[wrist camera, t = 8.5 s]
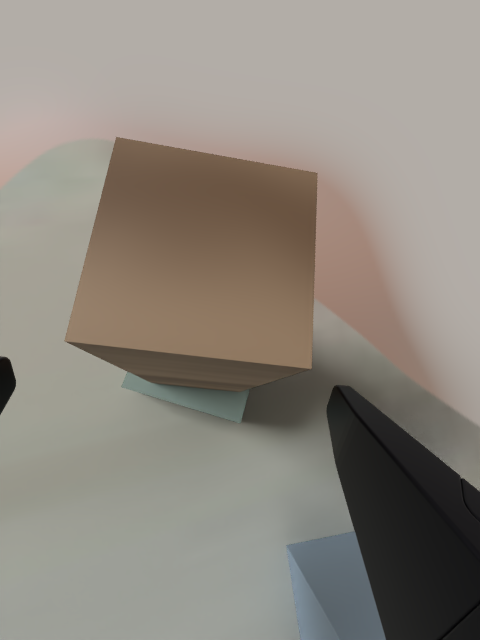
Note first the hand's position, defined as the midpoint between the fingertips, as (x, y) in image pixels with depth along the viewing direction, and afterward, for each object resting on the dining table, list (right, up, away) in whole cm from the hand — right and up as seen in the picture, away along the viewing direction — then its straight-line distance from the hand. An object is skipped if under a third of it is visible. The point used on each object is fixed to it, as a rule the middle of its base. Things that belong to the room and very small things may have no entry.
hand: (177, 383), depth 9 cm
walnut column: (-1, 0, +10) cm, 10 cm away
